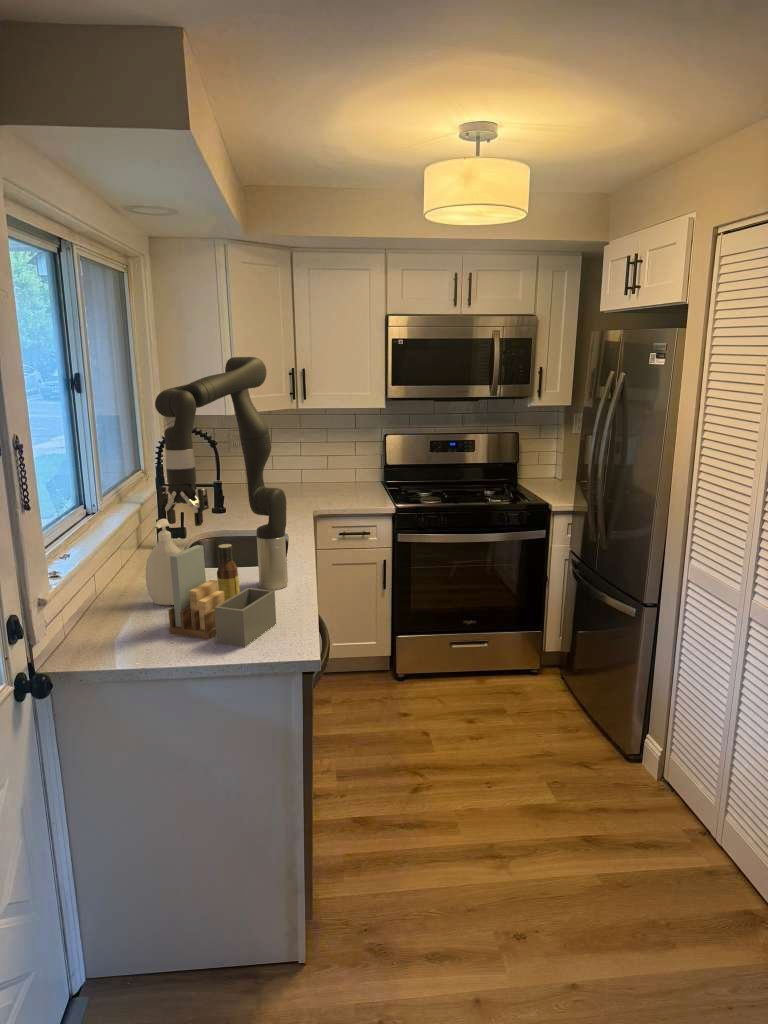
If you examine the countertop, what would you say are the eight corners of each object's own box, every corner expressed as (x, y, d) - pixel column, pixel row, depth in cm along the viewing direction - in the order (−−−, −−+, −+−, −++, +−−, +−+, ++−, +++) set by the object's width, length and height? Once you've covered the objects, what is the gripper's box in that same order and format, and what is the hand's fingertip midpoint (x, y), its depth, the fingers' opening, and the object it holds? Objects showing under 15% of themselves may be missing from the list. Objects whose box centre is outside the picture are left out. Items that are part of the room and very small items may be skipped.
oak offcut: (212, 612, 192) (210, 579, 190) (219, 613, 191) (217, 580, 189) (191, 625, 182) (189, 590, 180) (198, 626, 182) (195, 591, 180)
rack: (199, 616, 195) (198, 593, 193) (237, 621, 190) (236, 598, 189) (169, 633, 182) (167, 609, 180) (209, 639, 178) (207, 615, 176)
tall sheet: (201, 611, 193) (196, 545, 189) (208, 612, 192) (203, 545, 188) (175, 626, 182) (169, 556, 178) (182, 627, 181) (176, 556, 177)
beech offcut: (219, 617, 188) (217, 590, 186) (225, 618, 187) (223, 591, 186) (200, 628, 180) (198, 601, 178) (207, 629, 179) (205, 601, 177)
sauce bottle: (232, 603, 205) (228, 541, 201) (245, 607, 201) (241, 544, 197) (214, 609, 200) (210, 545, 196) (227, 613, 197) (223, 549, 192)
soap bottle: (140, 608, 202) (132, 521, 196) (153, 599, 210) (146, 516, 204) (185, 610, 200) (178, 523, 194) (196, 601, 208) (190, 517, 202)
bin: (249, 620, 191) (247, 587, 188) (276, 624, 188) (274, 590, 186) (216, 643, 175) (214, 607, 173) (245, 647, 172) (242, 610, 170)
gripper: (211, 464, 179) (215, 523, 182) (167, 463, 184) (172, 519, 187) (194, 468, 172) (199, 529, 175) (149, 466, 177) (154, 525, 180)
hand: (185, 524), depth 181 cm, fingers open, 8 cm apart
